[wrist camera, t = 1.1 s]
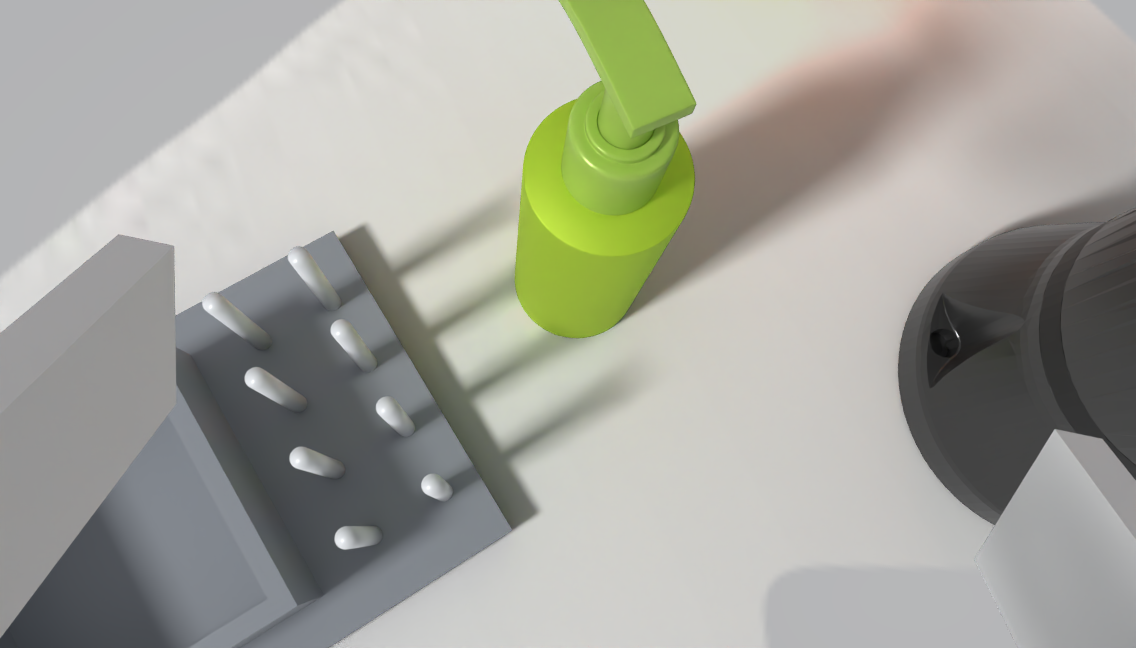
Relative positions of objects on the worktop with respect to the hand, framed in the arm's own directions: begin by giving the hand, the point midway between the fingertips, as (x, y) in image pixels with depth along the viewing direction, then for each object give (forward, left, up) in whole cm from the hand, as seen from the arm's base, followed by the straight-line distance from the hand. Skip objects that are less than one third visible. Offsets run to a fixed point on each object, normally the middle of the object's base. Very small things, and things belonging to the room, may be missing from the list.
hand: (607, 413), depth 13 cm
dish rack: (+12, -7, -28) cm, 31 cm away
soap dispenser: (-7, -8, -28) cm, 30 cm away
